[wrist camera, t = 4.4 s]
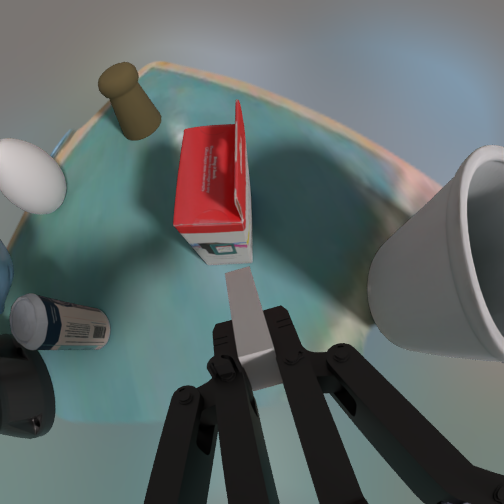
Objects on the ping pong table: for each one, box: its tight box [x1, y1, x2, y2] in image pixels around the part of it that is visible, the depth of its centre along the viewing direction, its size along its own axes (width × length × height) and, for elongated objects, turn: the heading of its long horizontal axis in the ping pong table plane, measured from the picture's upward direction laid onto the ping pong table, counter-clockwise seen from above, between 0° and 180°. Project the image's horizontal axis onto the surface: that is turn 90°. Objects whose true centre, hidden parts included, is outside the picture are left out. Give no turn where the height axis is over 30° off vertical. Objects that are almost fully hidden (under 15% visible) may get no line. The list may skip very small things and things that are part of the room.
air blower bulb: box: [0, 138, 67, 214], centre depth 24 cm, size 8×8×18 cm
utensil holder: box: [367, 145, 504, 363], centre depth 19 cm, size 15×15×18 cm
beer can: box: [9, 293, 110, 350], centre depth 22 cm, size 5×5×12 cm
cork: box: [98, 62, 161, 140], centre depth 30 cm, size 6×6×11 cm
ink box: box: [173, 99, 253, 265], centre depth 23 cm, size 8×5×15 cm, turn 1°
